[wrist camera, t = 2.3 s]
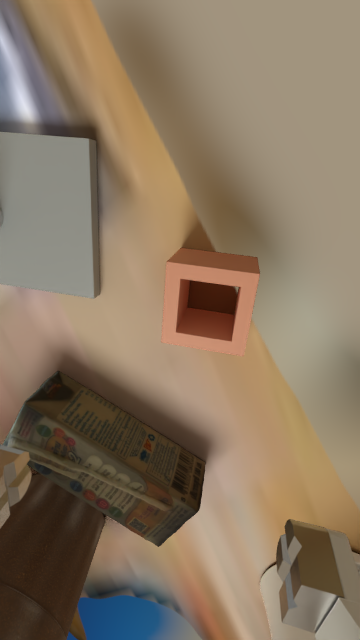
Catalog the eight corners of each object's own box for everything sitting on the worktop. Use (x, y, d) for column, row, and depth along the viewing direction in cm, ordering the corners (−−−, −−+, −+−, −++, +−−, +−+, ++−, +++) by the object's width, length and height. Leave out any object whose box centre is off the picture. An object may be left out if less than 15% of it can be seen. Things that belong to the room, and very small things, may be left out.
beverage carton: (58, 364, 32) (16, 404, 26) (211, 459, 33) (204, 518, 28) (34, 411, 36) (-8, 456, 30) (174, 495, 37) (160, 555, 31)
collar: (257, 257, 24) (259, 274, 19) (244, 327, 26) (243, 356, 22) (181, 247, 25) (166, 261, 20) (175, 316, 27) (161, 342, 23)
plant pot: (91, 559, 45) (18, 735, 31) (-5, 503, 45) (-126, 657, 30) (142, 506, 38) (79, 701, 24) (29, 438, 37) (-108, 599, 23)
